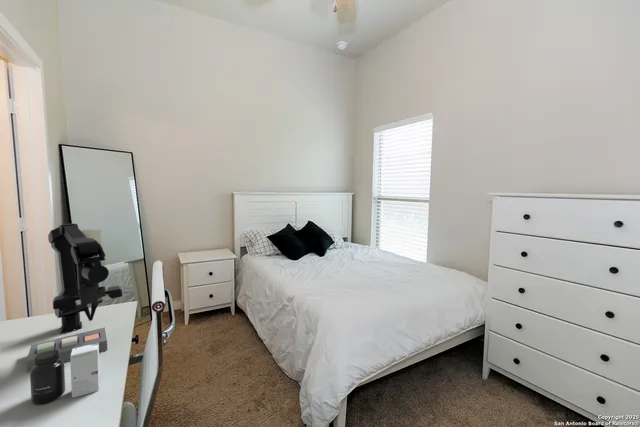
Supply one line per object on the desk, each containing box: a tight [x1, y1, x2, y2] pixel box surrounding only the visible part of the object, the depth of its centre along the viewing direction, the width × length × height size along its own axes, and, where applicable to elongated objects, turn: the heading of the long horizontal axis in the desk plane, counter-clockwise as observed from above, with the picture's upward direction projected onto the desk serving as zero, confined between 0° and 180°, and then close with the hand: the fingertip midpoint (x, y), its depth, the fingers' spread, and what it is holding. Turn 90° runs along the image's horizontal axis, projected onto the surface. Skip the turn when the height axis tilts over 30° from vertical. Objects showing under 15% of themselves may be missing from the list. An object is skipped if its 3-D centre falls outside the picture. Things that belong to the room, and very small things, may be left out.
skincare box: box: [70, 343, 101, 399], centre depth 82 cm, size 6×4×12 cm
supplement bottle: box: [29, 350, 66, 406], centre depth 80 cm, size 7×7×12 cm
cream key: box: [62, 336, 78, 347], centre depth 101 cm, size 4×4×2 cm
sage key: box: [37, 341, 55, 354], centre depth 97 cm, size 4×4×2 cm
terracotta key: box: [85, 333, 99, 342], centre depth 105 cm, size 4×4×2 cm
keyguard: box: [25, 327, 109, 373], centre depth 101 cm, size 12×20×4 cm, turn 129°
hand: (90, 320), depth 104 cm, fingers closed
